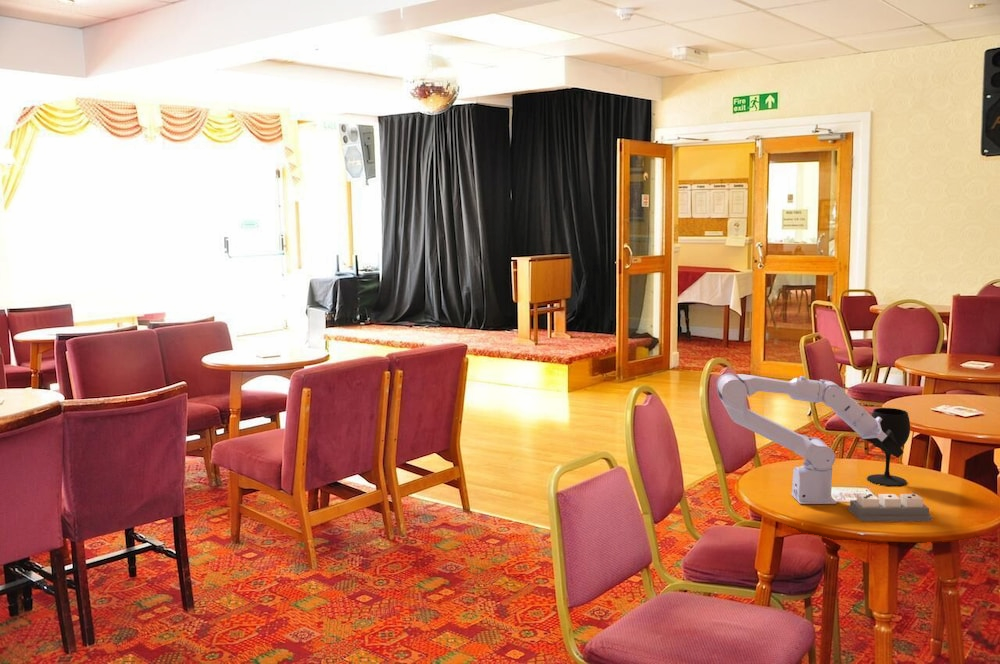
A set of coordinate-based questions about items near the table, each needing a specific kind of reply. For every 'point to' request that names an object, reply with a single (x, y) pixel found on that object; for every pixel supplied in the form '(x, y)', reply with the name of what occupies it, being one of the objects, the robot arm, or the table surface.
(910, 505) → the tile two
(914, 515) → the tile board
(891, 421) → the wine glass
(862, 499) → the tile three
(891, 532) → the table surface
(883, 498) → the tile one
